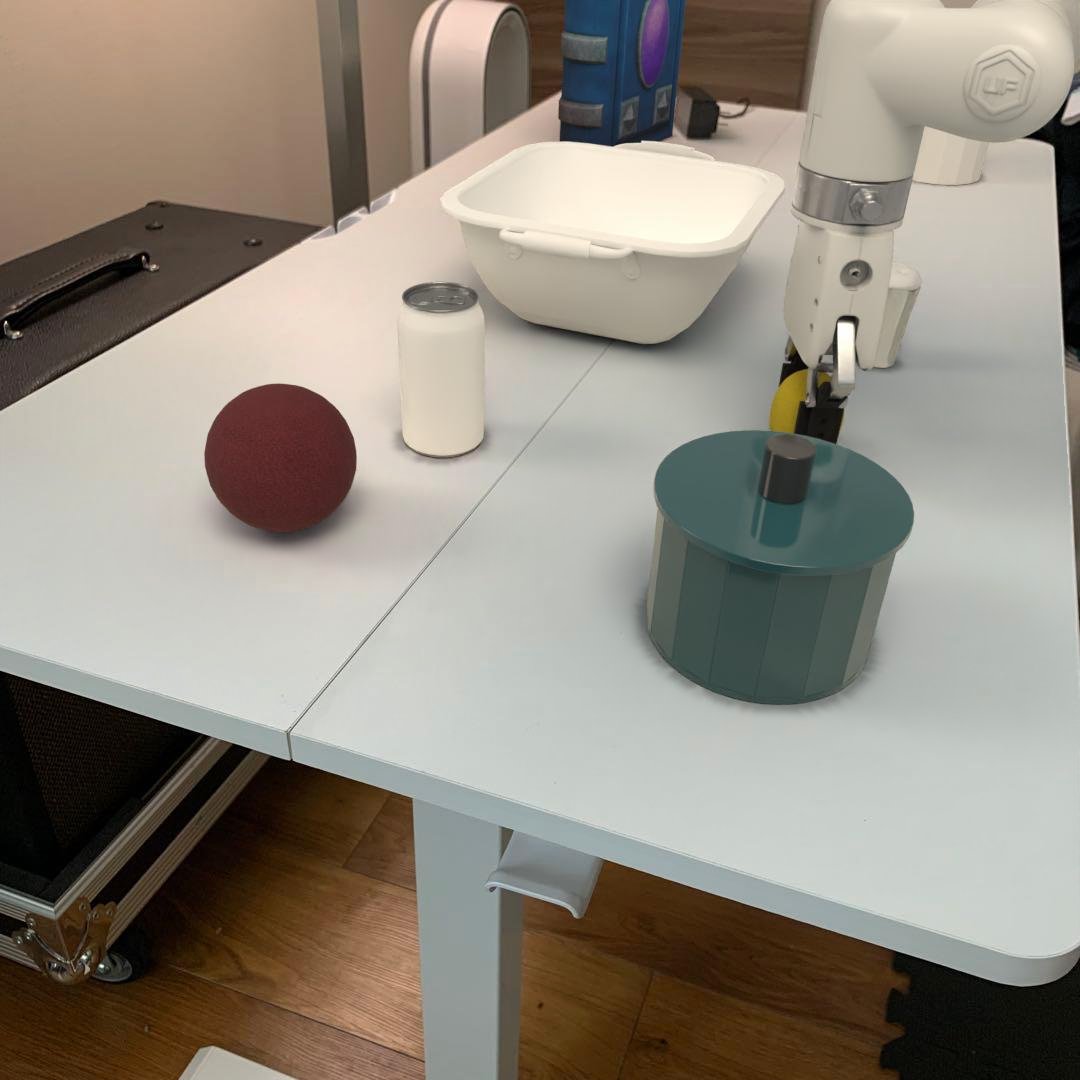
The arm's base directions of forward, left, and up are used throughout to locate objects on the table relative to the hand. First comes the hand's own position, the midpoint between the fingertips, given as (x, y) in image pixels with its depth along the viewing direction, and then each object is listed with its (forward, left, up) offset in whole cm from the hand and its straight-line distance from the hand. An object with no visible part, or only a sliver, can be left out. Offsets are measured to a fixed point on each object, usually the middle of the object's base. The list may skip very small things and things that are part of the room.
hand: (804, 427), depth 82 cm
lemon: (0, 0, -3) cm, 3 cm away
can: (+28, -2, -3) cm, 28 cm away
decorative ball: (+38, +10, -3) cm, 39 cm away
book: (+8, -91, -3) cm, 91 cm away
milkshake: (-11, -19, -3) cm, 22 cm away
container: (-37, -84, -3) cm, 92 cm away
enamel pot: (+7, +21, -3) cm, 22 cm away
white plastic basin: (+13, -29, -3) cm, 32 cm away
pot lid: (+7, +21, +7) cm, 23 cm away
